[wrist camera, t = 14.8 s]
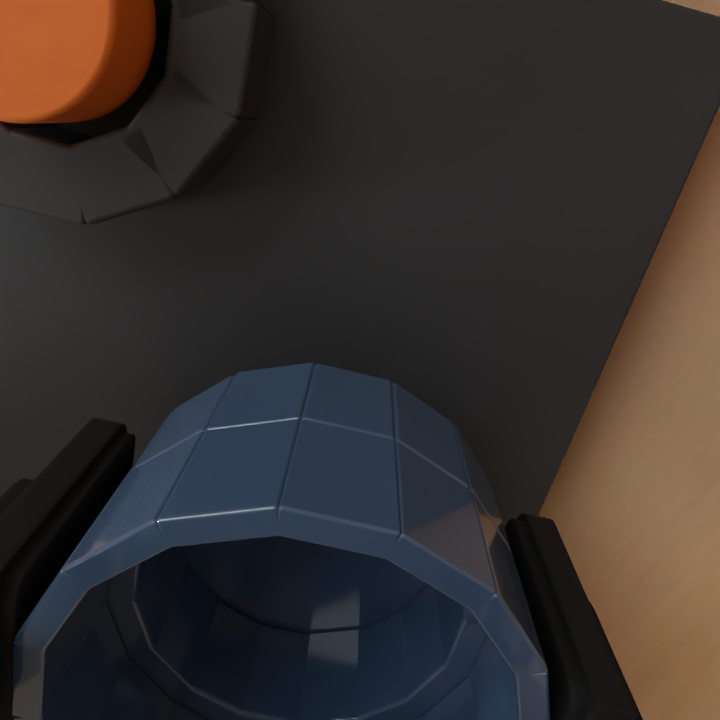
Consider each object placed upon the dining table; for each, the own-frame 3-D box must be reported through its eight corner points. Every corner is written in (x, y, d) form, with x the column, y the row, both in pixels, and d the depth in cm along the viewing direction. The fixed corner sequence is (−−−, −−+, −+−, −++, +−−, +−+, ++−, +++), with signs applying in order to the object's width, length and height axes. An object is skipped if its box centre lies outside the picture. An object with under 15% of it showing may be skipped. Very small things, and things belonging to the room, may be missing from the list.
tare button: (-52, -143, 8) (-145, -199, 7) (169, -80, 8) (125, -123, 7) (-48, 93, 9) (-126, 90, 8) (147, 144, 9) (105, 149, 8)
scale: (-38, -213, 10) (-201, -341, 7) (722, 9, 11) (843, -28, 8) (-29, 557, 16) (-114, 650, 13) (451, 655, 17) (465, 761, 14)
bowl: (162, 313, 10) (15, 449, 6) (539, 402, 11) (642, 586, 6) (127, 606, 13) (6, 842, 9) (431, 667, 13) (456, 921, 9)
